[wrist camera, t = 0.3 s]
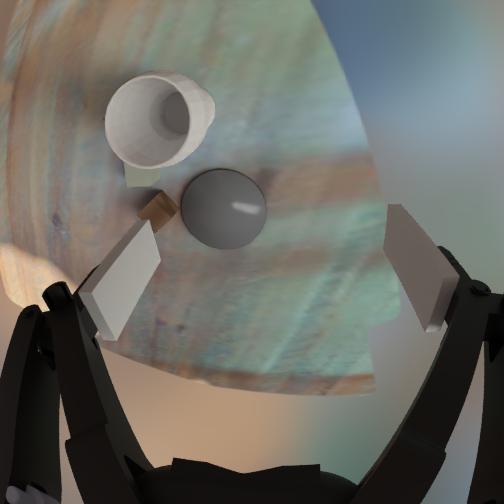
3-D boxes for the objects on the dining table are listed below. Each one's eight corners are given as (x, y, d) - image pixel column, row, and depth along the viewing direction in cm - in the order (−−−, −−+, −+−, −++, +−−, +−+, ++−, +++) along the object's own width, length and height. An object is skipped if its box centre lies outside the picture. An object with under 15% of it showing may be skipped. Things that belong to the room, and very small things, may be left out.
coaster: (171, 181, 43) (169, 183, 42) (254, 159, 41) (253, 160, 40) (198, 253, 49) (197, 256, 49) (274, 238, 47) (274, 241, 46)
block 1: (135, 154, 41) (123, 161, 38) (158, 153, 41) (148, 159, 38) (137, 179, 43) (126, 187, 40) (160, 178, 43) (150, 186, 40)
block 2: (147, 205, 46) (137, 215, 42) (162, 189, 44) (152, 198, 41) (163, 222, 47) (154, 233, 43) (179, 207, 45) (171, 218, 42)
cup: (235, 133, 39) (214, 154, 26) (168, 155, 41) (121, 188, 28) (212, 64, 34) (178, 51, 21) (145, 92, 36) (87, 98, 23)
